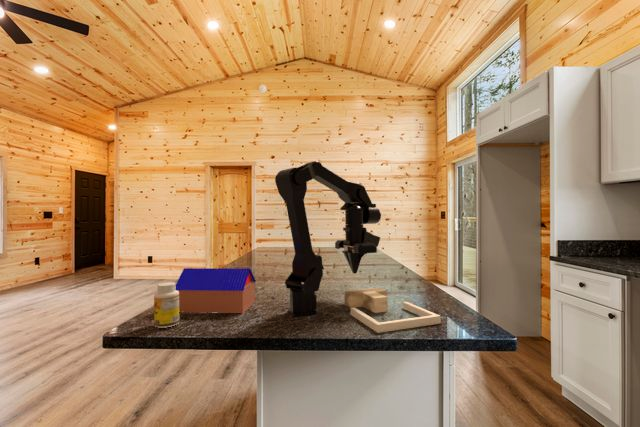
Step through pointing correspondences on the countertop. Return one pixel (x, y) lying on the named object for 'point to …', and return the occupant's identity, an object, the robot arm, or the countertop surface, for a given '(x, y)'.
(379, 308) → the tee block
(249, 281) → the house
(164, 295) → the supplement bottle
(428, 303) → the countertop surface
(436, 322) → the corral
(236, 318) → the countertop surface
